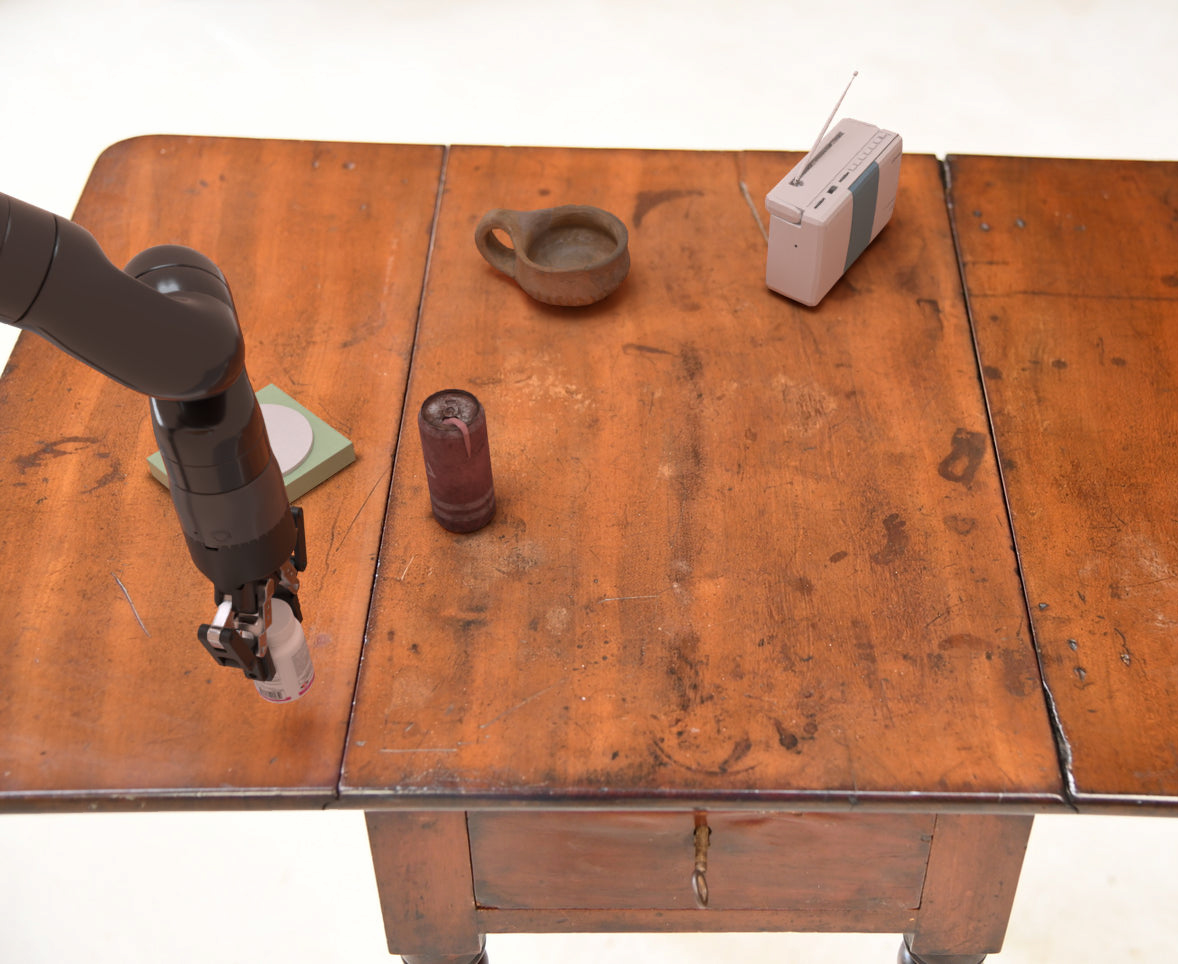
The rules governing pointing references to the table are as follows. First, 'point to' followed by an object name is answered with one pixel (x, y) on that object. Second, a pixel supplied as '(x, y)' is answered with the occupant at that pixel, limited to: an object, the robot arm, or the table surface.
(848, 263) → the radio
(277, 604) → the pill bottle
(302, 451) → the scale
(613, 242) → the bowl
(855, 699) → the table surface
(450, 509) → the can
